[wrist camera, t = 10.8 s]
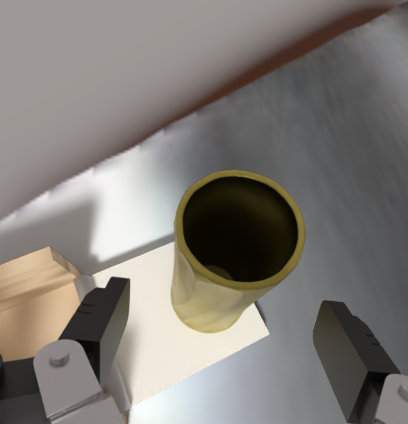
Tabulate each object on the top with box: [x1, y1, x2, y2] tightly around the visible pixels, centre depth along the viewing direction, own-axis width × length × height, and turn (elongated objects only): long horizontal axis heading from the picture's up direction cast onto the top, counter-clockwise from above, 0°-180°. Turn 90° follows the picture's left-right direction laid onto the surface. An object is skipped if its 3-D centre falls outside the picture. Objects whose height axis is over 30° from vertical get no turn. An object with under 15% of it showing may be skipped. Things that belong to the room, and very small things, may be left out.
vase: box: [171, 170, 305, 333], centre depth 19 cm, size 6×6×14 cm
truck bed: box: [0, 246, 128, 424], centre depth 20 cm, size 10×14×7 cm
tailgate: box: [73, 242, 269, 414], centre depth 24 cm, size 12×10×2 cm
